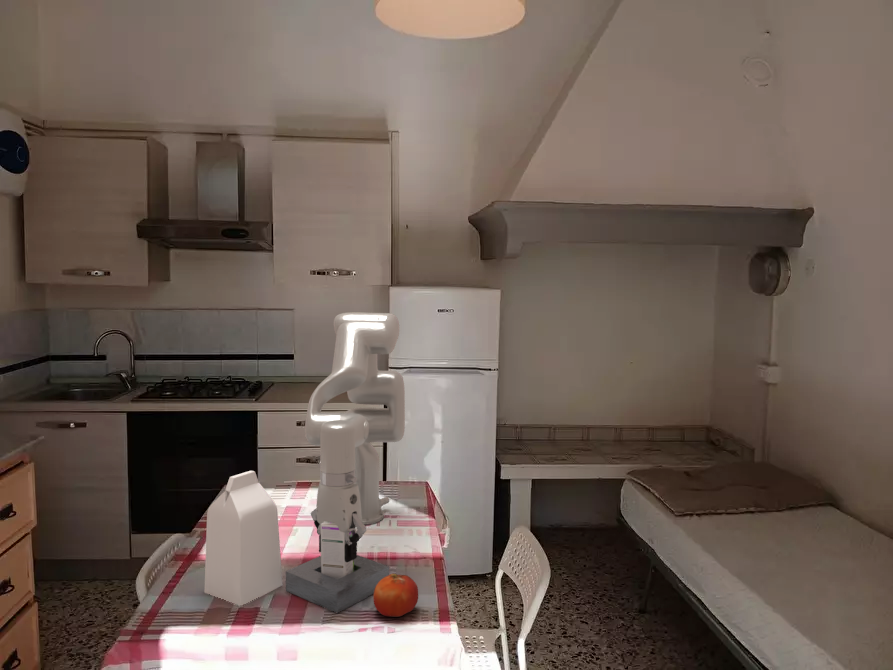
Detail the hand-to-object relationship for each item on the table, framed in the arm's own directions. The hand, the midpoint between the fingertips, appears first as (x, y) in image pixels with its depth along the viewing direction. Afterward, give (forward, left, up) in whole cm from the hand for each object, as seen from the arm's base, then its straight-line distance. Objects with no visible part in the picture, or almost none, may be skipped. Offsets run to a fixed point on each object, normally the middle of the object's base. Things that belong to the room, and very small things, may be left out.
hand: (337, 554), depth 153 cm
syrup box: (0, 0, -7) cm, 7 cm away
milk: (+13, -16, -8) cm, 22 cm away
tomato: (0, +17, -8) cm, 19 cm away
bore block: (0, 0, -8) cm, 8 cm away
